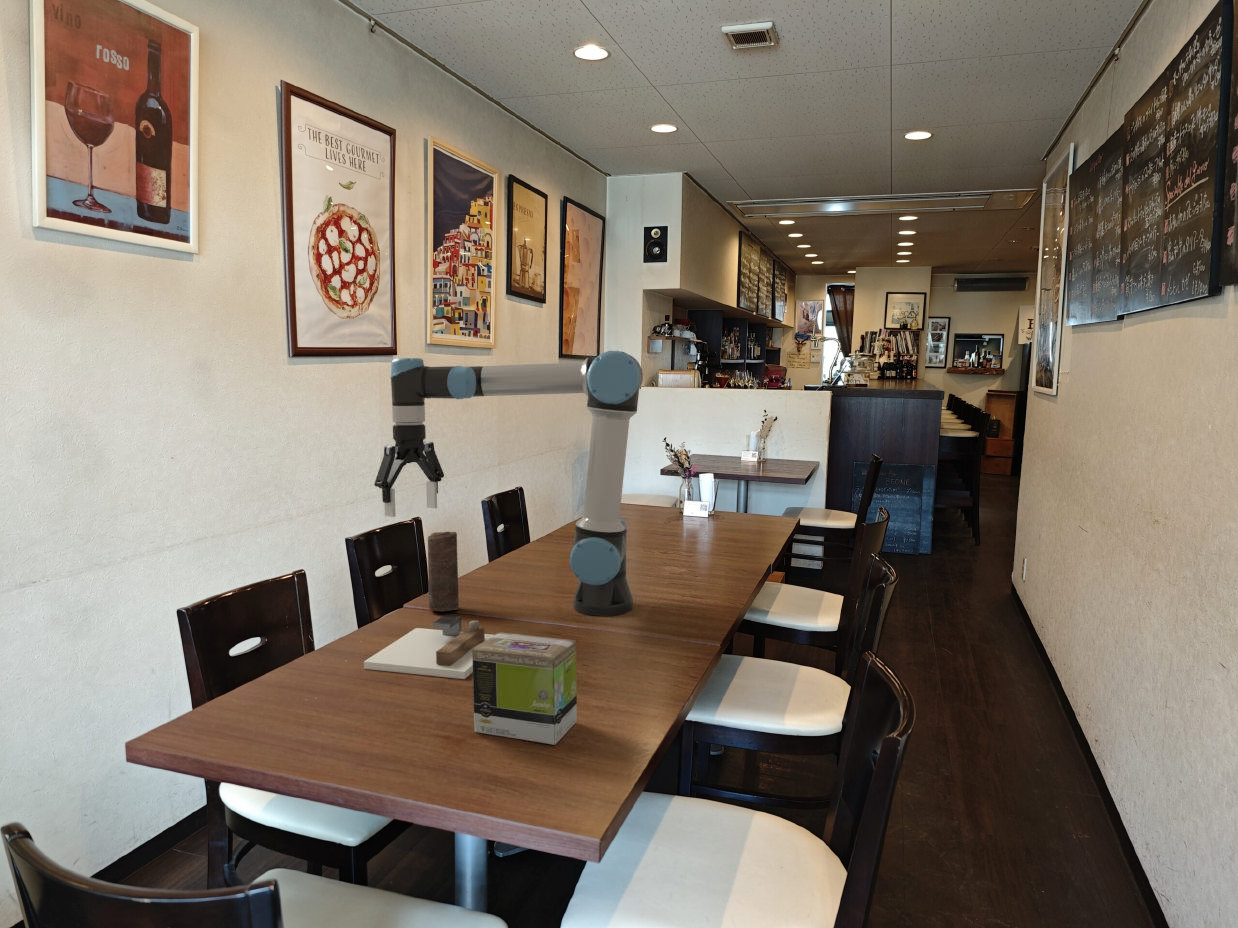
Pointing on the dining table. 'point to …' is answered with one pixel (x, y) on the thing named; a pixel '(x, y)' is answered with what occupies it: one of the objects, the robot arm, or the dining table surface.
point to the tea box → (525, 687)
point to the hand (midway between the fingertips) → (411, 512)
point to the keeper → (449, 625)
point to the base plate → (421, 655)
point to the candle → (443, 571)
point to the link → (461, 644)
